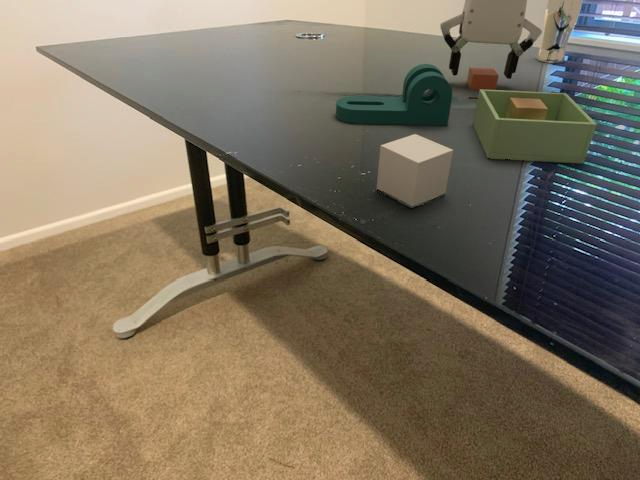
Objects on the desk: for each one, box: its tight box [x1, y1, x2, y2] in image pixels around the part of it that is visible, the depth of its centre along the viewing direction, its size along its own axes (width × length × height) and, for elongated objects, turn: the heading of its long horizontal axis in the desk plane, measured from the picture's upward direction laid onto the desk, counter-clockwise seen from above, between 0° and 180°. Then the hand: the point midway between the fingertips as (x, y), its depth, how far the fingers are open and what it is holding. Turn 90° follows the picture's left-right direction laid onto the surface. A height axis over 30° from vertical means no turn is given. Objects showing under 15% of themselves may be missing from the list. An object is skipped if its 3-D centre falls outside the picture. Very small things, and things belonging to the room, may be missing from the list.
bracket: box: [335, 63, 453, 126], centre depth 82 cm, size 18×7×8 cm, turn 90°
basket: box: [472, 89, 598, 165], centre depth 74 cm, size 13×13×6 cm
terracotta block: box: [466, 67, 499, 100], centre depth 93 cm, size 4×4×4 cm
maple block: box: [505, 98, 548, 120], centre depth 76 cm, size 4×4×4 cm
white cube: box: [376, 133, 454, 206], centre depth 61 cm, size 6×6×6 cm
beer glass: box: [535, 0, 584, 64], centre depth 113 cm, size 7×7×15 cm
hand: (480, 75), depth 92 cm, fingers open, 9 cm apart
